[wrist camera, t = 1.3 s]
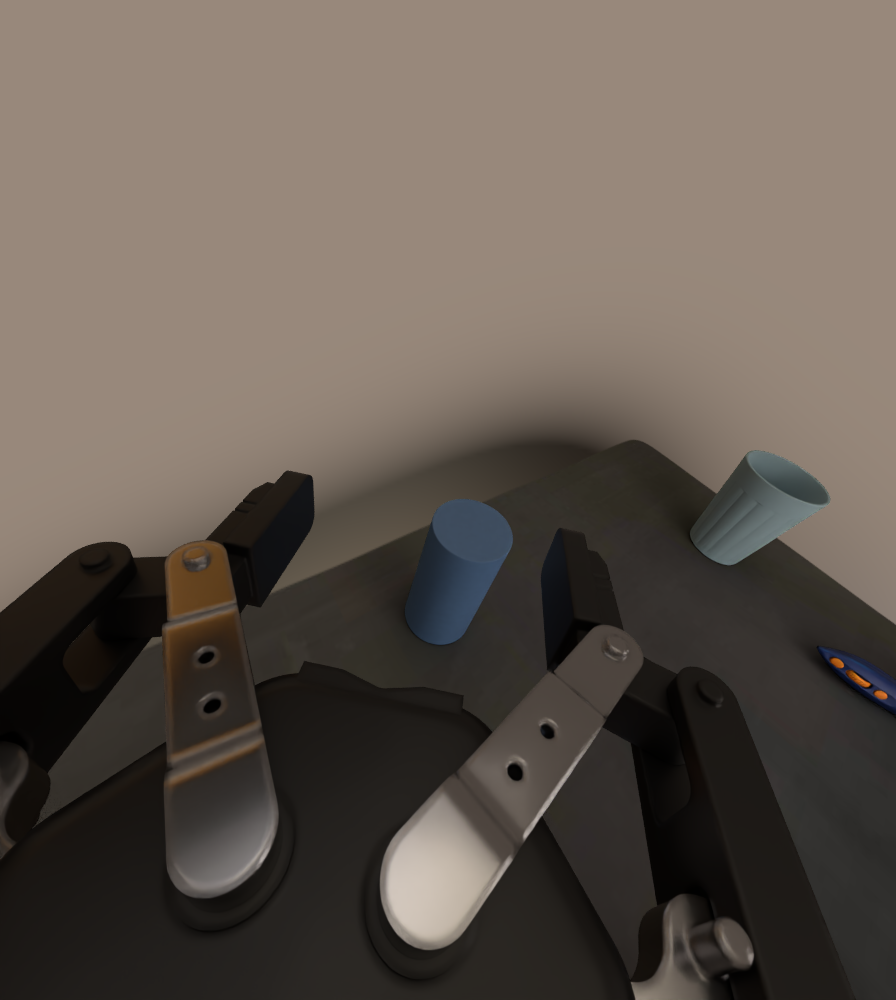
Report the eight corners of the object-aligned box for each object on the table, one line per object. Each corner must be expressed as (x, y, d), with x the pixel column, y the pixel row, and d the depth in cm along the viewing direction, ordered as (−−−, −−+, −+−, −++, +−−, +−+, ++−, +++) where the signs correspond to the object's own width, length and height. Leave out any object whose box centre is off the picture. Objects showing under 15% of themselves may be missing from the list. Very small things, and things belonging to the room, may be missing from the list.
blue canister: (409, 648, 29) (441, 563, 22) (400, 587, 32) (425, 497, 26) (475, 642, 31) (524, 561, 24) (460, 584, 34) (499, 499, 27)
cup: (755, 586, 42) (844, 517, 35) (682, 555, 43) (755, 482, 36) (741, 537, 48) (816, 470, 41) (677, 511, 49) (740, 440, 42)
